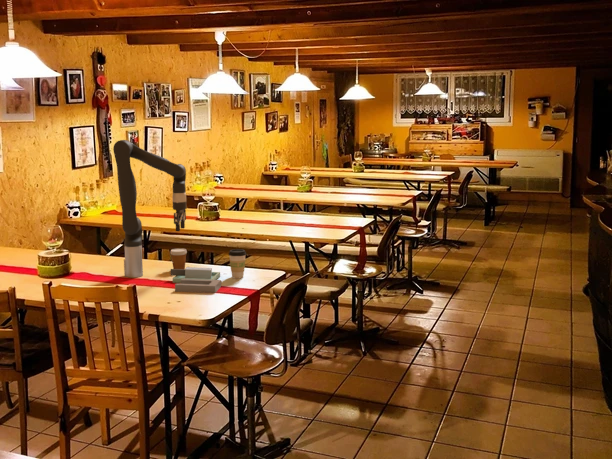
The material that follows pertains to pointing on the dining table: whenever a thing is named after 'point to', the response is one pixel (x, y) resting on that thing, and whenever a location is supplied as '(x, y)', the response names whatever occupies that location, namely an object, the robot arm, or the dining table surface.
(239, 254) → the coffee cup
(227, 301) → the dining table surface
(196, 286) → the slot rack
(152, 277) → the dining table surface
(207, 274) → the tall grey bar
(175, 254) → the disposable coffee cup
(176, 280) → the tray
